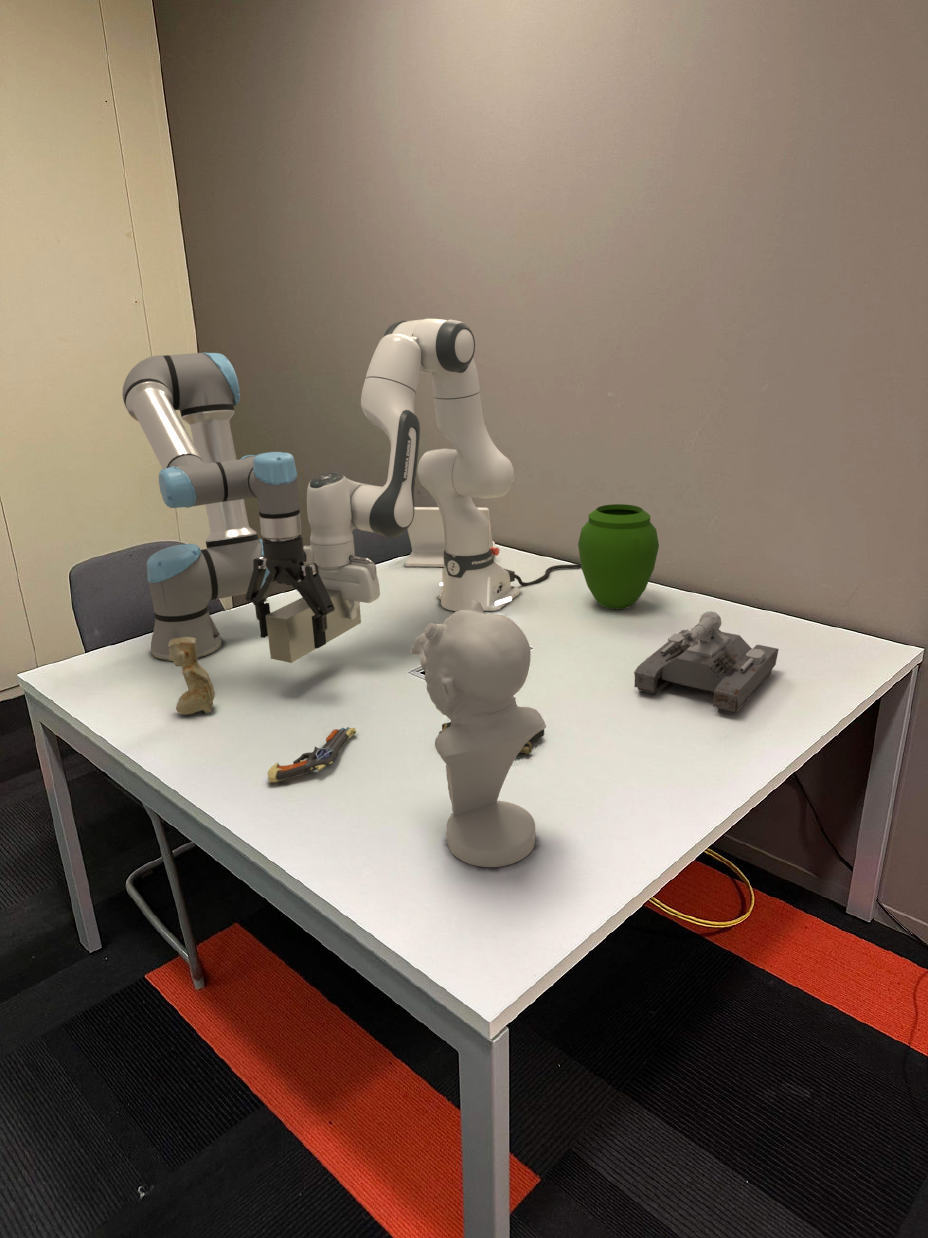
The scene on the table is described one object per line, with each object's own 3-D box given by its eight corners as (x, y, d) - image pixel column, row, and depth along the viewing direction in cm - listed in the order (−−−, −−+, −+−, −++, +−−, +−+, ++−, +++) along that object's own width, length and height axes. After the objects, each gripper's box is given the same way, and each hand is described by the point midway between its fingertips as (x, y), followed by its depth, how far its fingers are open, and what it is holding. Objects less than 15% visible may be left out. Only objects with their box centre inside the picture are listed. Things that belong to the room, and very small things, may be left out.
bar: (291, 663, 165) (286, 619, 162) (270, 658, 167) (265, 615, 164) (361, 622, 184) (358, 582, 181) (341, 619, 187) (338, 579, 183)
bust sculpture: (481, 772, 140) (476, 569, 128) (565, 848, 120) (569, 617, 108) (392, 800, 134) (378, 588, 121) (465, 886, 114) (457, 642, 101)
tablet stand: (488, 567, 247) (487, 509, 241) (404, 566, 250) (401, 509, 244) (495, 549, 263) (494, 495, 257) (415, 549, 267) (413, 495, 261)
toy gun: (262, 772, 138) (320, 770, 136) (304, 725, 156) (356, 722, 154) (265, 787, 138) (323, 785, 136) (307, 738, 156) (359, 736, 154)
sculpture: (181, 705, 167) (169, 634, 162) (218, 702, 168) (208, 632, 162) (175, 719, 162) (163, 646, 156) (213, 716, 162) (203, 643, 157)
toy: (682, 651, 185) (687, 585, 180) (776, 671, 174) (784, 601, 169) (632, 694, 166) (636, 622, 161) (734, 719, 155) (741, 643, 150)
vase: (599, 587, 227) (601, 497, 218) (668, 600, 216) (673, 505, 208) (562, 608, 212) (564, 513, 204) (634, 623, 202) (639, 523, 193)
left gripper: (347, 538, 159) (355, 643, 166) (245, 525, 170) (257, 625, 177) (323, 548, 153) (332, 657, 160) (218, 534, 164) (232, 637, 171)
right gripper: (383, 554, 174) (387, 618, 179) (303, 544, 183) (310, 604, 188) (366, 563, 169) (370, 628, 174) (285, 552, 178) (291, 614, 183)
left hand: (293, 640), depth 169 cm, fingers open, 13 cm apart
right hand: (338, 615), depth 181 cm, fingers closed on bar, 5 cm apart
